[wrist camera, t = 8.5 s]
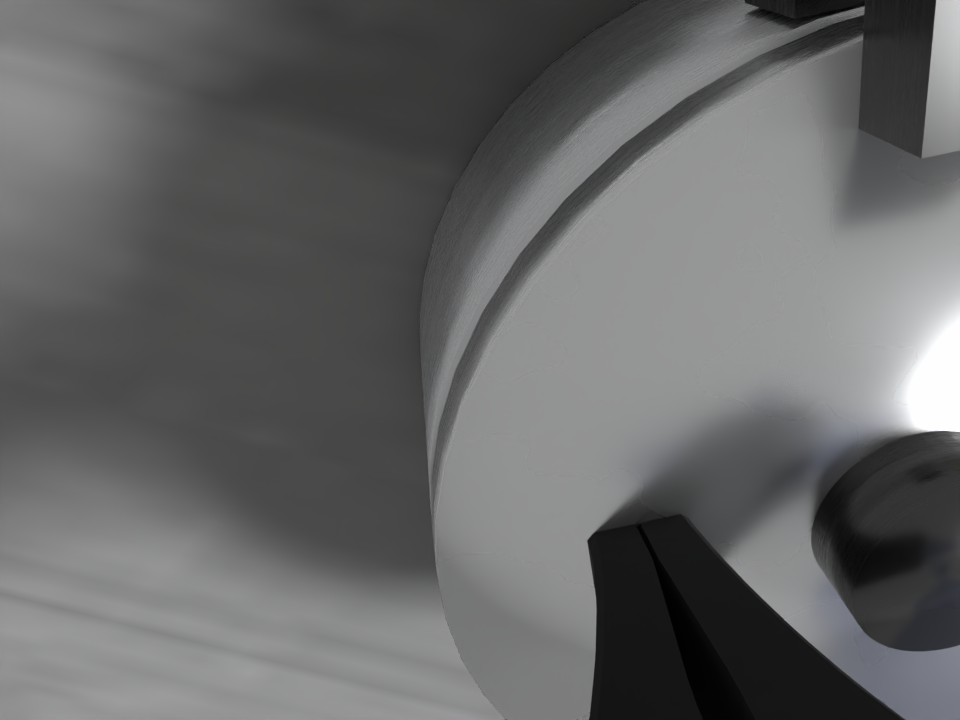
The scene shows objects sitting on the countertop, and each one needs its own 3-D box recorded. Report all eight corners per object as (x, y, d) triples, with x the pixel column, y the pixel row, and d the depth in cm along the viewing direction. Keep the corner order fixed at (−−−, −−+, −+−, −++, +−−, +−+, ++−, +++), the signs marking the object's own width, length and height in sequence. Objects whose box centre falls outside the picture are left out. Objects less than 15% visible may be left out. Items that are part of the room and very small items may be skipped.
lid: (1190, 668, 17) (1297, 769, 15) (512, 821, 16) (530, 942, 14) (1921, -1220, 6) (2638, -1737, 4) (38, -839, 6) (-121, -1193, 4)
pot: (1024, 507, 21) (1190, 668, 17) (485, 618, 21) (510, 806, 17) (1306, -883, 10) (2026, -1490, 6) (163, -632, 10) (-9, -1033, 6)
